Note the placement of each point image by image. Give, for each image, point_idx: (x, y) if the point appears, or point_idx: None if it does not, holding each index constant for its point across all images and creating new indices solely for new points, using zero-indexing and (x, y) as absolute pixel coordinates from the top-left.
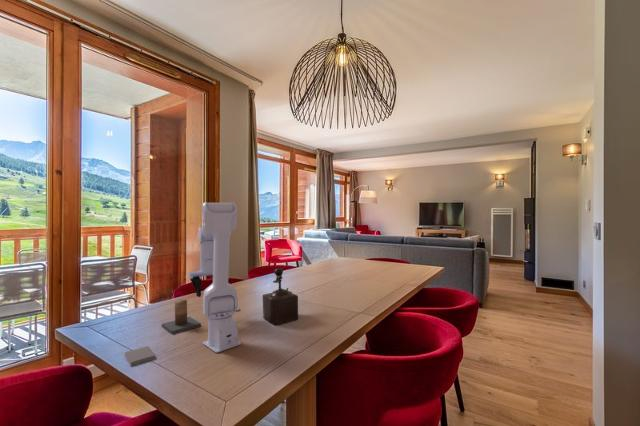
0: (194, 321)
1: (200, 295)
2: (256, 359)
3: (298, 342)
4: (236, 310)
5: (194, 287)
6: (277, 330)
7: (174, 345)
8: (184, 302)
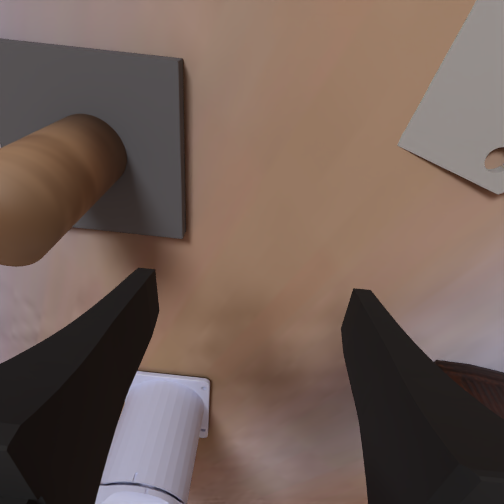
0: (166, 186)
1: (151, 323)
2: (191, 479)
3: (314, 493)
4: (486, 187)
5: (73, 325)
6: (349, 442)
7: (35, 316)
8: (25, 262)
